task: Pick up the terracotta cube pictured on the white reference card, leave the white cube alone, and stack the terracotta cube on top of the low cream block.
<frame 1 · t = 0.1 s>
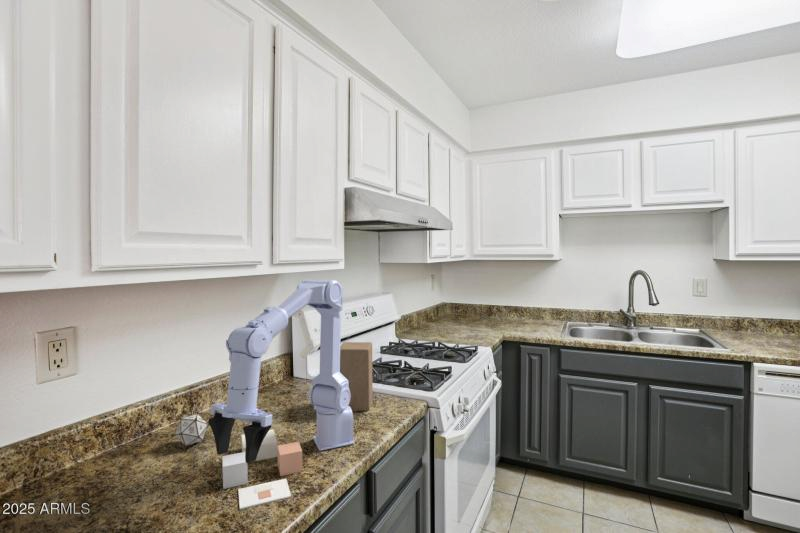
hand: (236, 457, 81), 11 cm above the worktop, tool pointing down, fingers open, 7 cm apart
terracotta cube: (290, 468, 96), on the worktop
reference card: (264, 493, 86), on the worktop
game die: (192, 445, 108), on the worktop
wooden block: (356, 405, 135), on the worktop
white cube: (235, 480, 91), on the worktop
cream base block: (259, 453, 104), on the worktop
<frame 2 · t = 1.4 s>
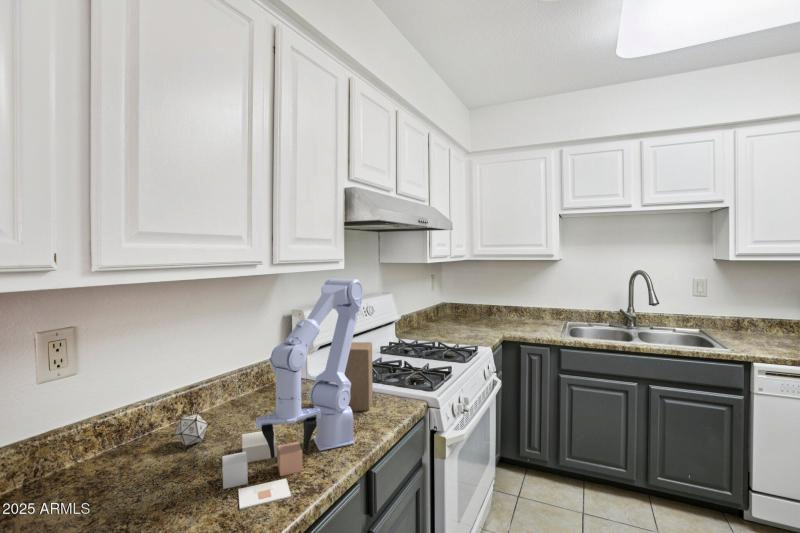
hand: (289, 452, 96), 4 cm above the worktop, tool pointing down, fingers open, 7 cm apart
nothing on the worktop moved.
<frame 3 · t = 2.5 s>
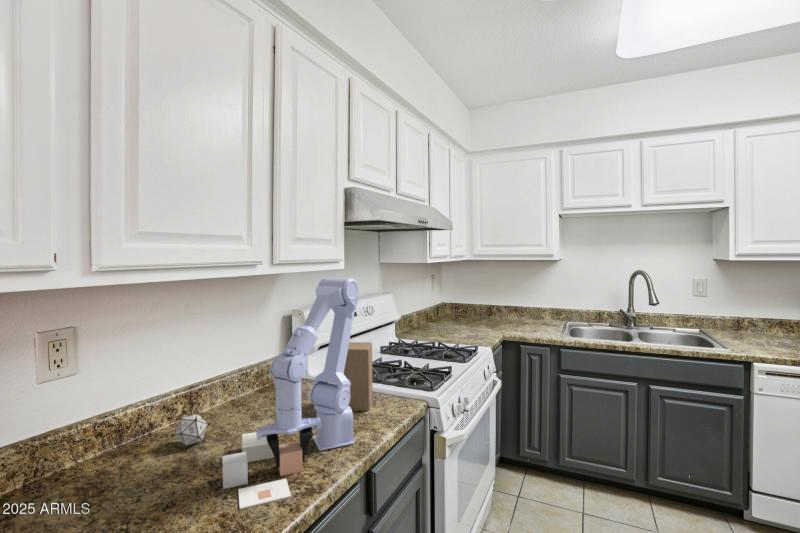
hand: (289, 462, 96), 1 cm above the worktop, tool pointing down, fingers closed on terracotta cube, 5 cm apart
terracotta cube: (290, 468, 96), on the worktop, touching gripper
everything else where it was.
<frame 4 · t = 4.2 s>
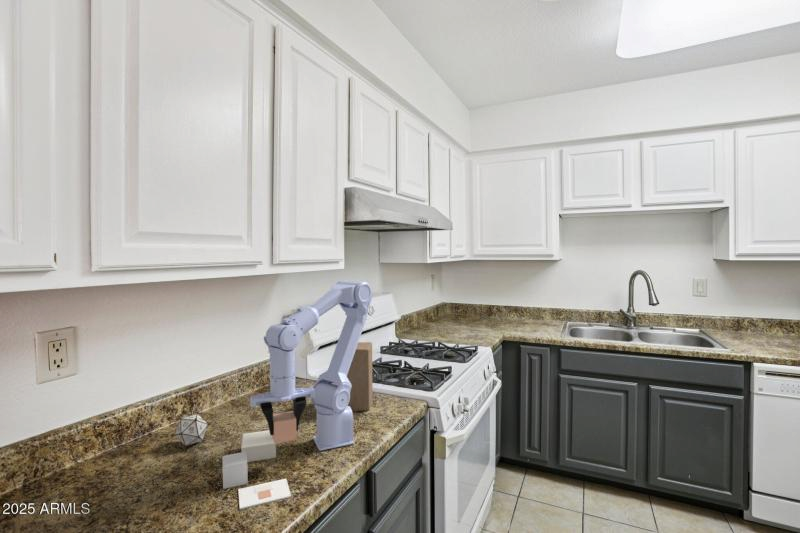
hand: (283, 431, 97), 8 cm above the worktop, tool pointing down, fingers closed on terracotta cube, 5 cm apart
terracotta cube: (283, 437, 97), point 7 cm above the worktop, touching gripper
everything else where it was.
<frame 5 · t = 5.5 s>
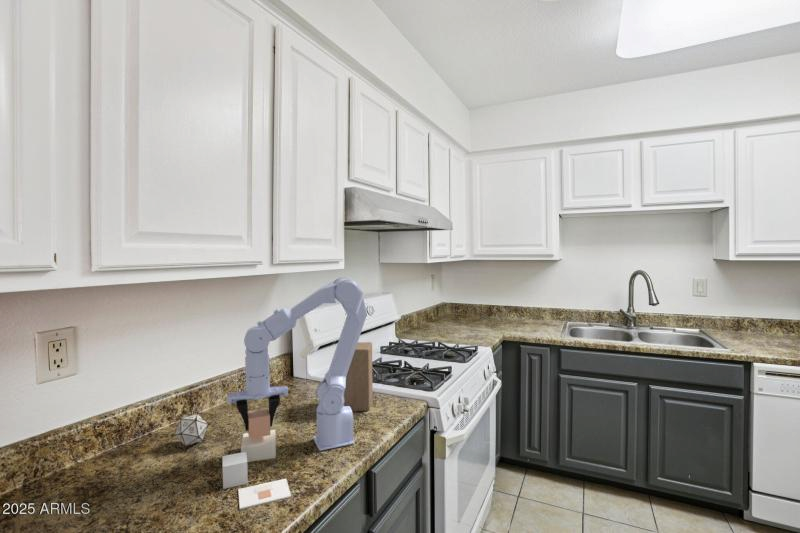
hand: (258, 426, 104), 7 cm above the worktop, tool pointing down, fingers closed on terracotta cube, 5 cm apart
terracotta cube: (258, 432, 103), point 5 cm above the worktop, touching gripper
everything else where it was.
when the fingers open (7 cm above the worktop, at t = 6.1 s): terracotta cube drops 1 cm, point 4 cm above the worktop.
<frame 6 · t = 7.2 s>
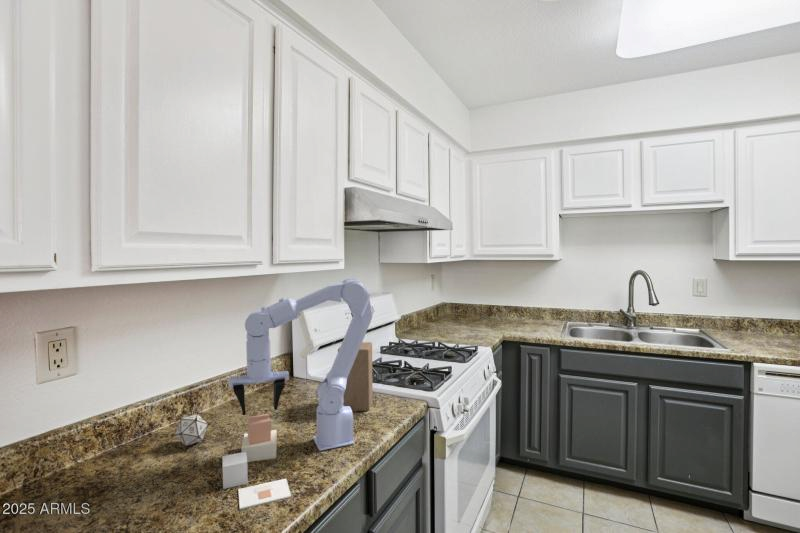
hand: (259, 411, 104), 10 cm above the worktop, tool pointing down, fingers open, 7 cm apart
terracotta cube: (259, 438, 104), point 4 cm above the worktop
everything else where it was.
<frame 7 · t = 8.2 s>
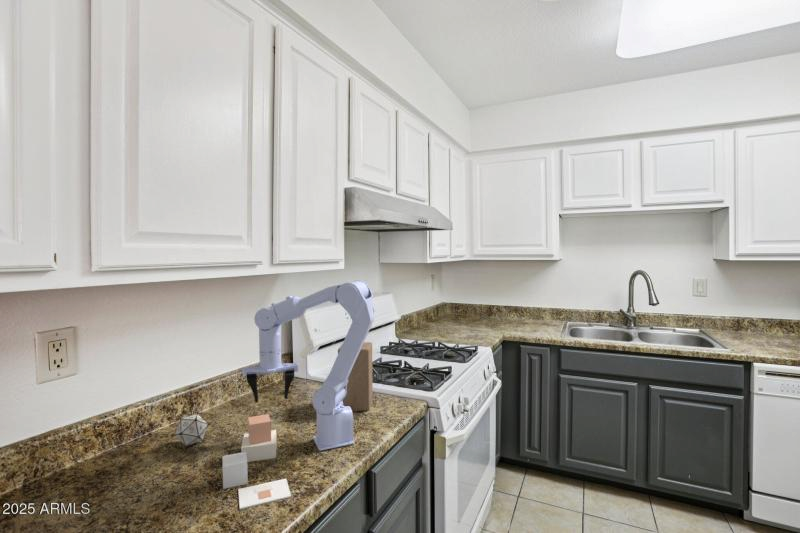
hand: (271, 399, 112), 10 cm above the worktop, tool pointing down, fingers open, 7 cm apart
terracotta cube: (259, 438, 104), point 4 cm above the worktop, touching cream base block
cream base block: (259, 453, 104), on the worktop, touching terracotta cube
everything else where it was.
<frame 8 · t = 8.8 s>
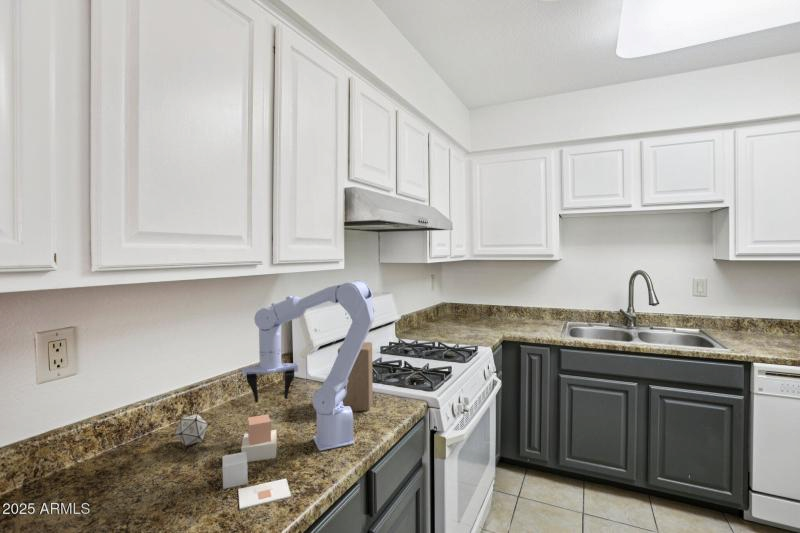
hand: (271, 399, 112), 10 cm above the worktop, tool pointing down, fingers open, 7 cm apart
nothing on the worktop moved.
at the end: terracotta cube 0.3 cm off-centre on the cream base block, point 4.0 cm above the cream base block's base; terracotta cube tilted 0°; white cube moved 0.1 cm from its start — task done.
